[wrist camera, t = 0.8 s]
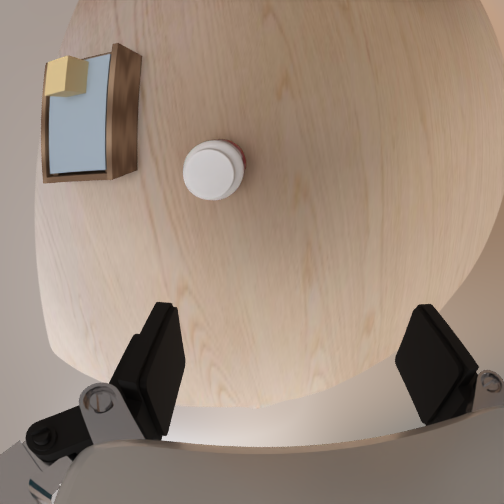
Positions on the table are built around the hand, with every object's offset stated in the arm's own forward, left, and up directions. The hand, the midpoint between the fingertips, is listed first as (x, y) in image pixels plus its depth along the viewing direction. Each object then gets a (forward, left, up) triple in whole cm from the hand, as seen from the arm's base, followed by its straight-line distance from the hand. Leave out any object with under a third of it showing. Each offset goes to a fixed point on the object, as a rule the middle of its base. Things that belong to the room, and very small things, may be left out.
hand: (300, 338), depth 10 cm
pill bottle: (-3, -6, -28) cm, 29 cm away
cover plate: (-10, -23, -22) cm, 34 cm away
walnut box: (-10, -23, -28) cm, 38 cm away
